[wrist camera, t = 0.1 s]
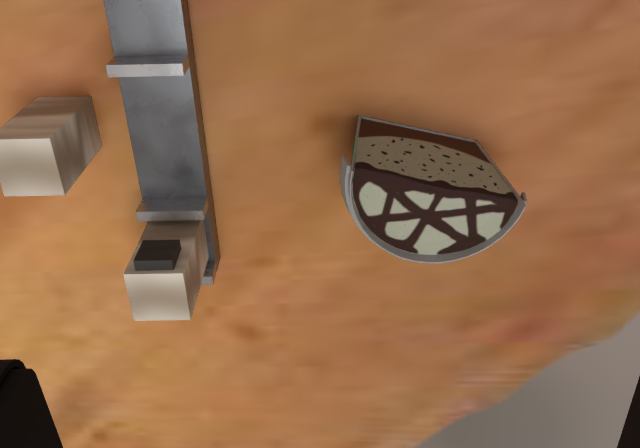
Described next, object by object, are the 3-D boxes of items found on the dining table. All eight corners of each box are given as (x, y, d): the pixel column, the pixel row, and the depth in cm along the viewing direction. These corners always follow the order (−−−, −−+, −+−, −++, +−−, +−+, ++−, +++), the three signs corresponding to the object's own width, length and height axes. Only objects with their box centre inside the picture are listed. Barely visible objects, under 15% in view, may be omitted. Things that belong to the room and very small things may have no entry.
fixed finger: (150, 205, 47) (121, 264, 41) (201, 204, 47) (181, 263, 40) (160, 257, 50) (134, 320, 43) (208, 256, 50) (190, 319, 43)
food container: (321, 182, 49) (321, 251, 40) (339, 110, 46) (343, 169, 37) (468, 211, 50) (498, 285, 41) (495, 144, 47) (534, 207, 38)
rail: (102, -62, 40) (81, -54, 36) (179, -64, 39) (165, -56, 36) (162, 258, 52) (151, 286, 49) (220, 257, 52) (213, 285, 49)
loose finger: (26, 97, 45) (-27, 140, 38) (91, 96, 45) (49, 138, 38) (40, 147, 47) (-8, 196, 40) (102, 146, 47) (64, 195, 40)
